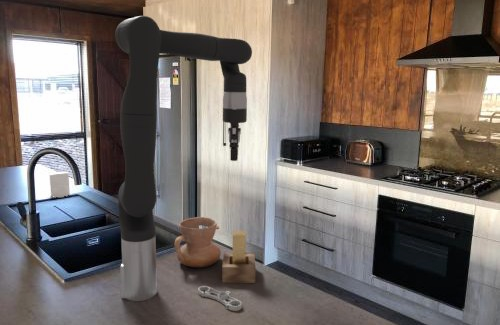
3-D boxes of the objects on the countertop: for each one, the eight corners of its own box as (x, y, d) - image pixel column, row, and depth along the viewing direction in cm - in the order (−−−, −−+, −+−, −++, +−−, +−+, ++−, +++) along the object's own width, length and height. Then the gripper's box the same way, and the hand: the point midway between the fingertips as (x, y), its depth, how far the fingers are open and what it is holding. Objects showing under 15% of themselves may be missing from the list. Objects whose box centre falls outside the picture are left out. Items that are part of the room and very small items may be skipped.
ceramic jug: (206, 249, 149) (205, 211, 146) (232, 261, 139) (231, 221, 136) (163, 264, 137) (161, 223, 134) (188, 278, 127) (186, 235, 124)
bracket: (221, 311, 106) (195, 286, 118) (221, 318, 106) (195, 292, 118) (246, 303, 110) (218, 280, 122) (245, 309, 110) (218, 286, 123)
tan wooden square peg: (232, 277, 127) (232, 235, 125) (232, 272, 131) (233, 230, 129) (245, 278, 127) (245, 235, 125) (245, 272, 131) (245, 230, 129)
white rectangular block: (66, 192, 223) (65, 170, 221) (72, 195, 217) (70, 173, 214) (49, 194, 218) (47, 172, 215) (53, 198, 211) (52, 175, 209)
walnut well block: (222, 282, 124) (222, 267, 123) (223, 268, 134) (223, 253, 133) (255, 282, 124) (255, 267, 123) (254, 268, 134) (254, 253, 133)
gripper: (223, 105, 134) (223, 154, 137) (221, 107, 120) (221, 162, 123) (246, 106, 134) (245, 154, 137) (247, 108, 120) (246, 162, 123)
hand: (234, 158), depth 130 cm, fingers open, 8 cm apart
